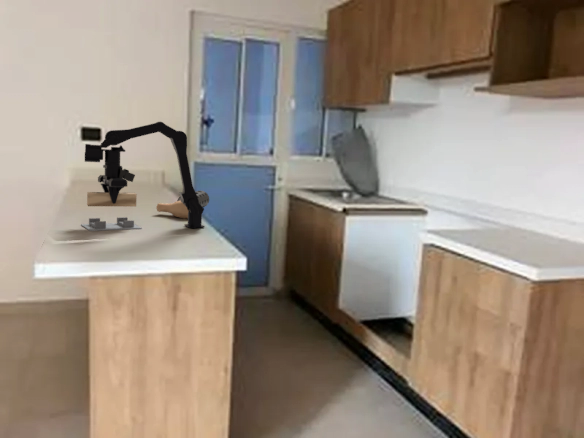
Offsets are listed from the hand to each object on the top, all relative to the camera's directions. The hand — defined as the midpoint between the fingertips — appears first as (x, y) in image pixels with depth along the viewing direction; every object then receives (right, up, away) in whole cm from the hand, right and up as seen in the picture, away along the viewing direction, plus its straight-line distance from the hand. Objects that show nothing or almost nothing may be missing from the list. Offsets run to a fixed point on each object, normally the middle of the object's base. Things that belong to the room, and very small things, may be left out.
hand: (112, 202), depth 215 cm
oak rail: (0, -1, 0) cm, 1 cm away
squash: (+18, -6, +36) cm, 40 cm away
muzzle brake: (+22, -4, +54) cm, 59 cm away
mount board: (-1, -10, +1) cm, 10 cm away
